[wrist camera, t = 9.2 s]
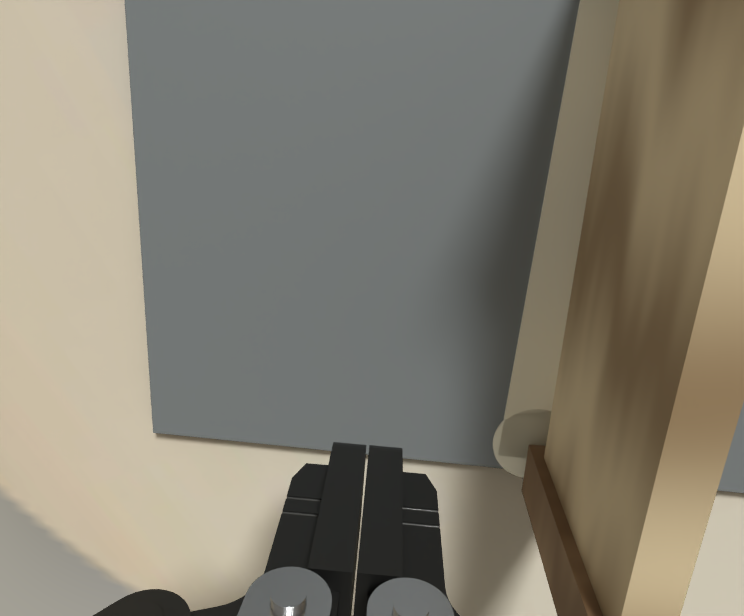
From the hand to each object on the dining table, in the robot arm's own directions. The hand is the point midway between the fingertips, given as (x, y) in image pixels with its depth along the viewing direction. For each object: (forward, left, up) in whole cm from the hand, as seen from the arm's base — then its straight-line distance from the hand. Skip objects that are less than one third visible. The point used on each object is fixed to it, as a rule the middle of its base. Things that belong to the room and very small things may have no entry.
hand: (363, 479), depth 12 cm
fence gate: (-5, -4, -4) cm, 8 cm away
